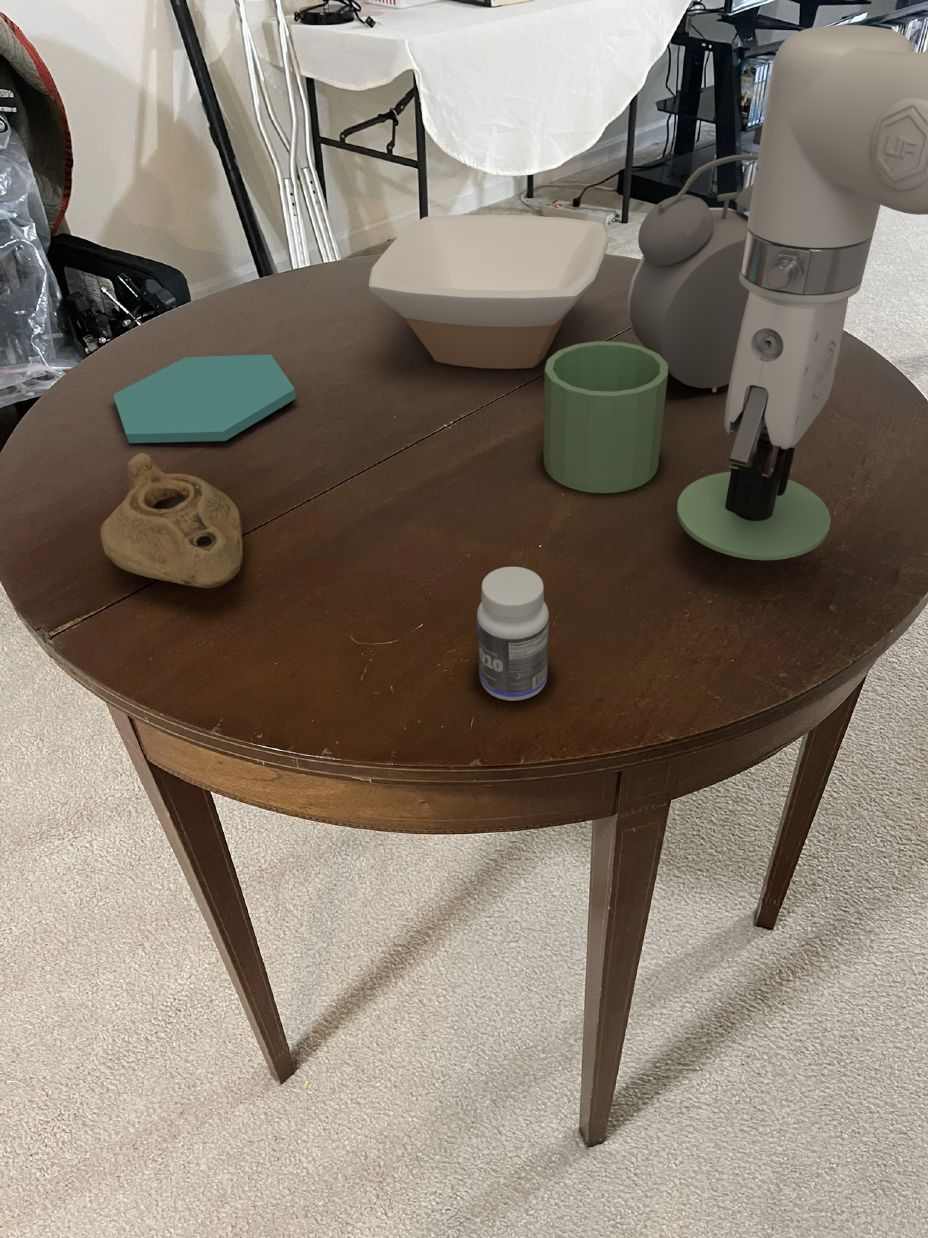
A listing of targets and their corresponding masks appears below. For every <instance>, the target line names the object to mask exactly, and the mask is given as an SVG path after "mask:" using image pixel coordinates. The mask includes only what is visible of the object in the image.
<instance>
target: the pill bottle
mask: <svg viewBox="0 0 928 1238" xmlns="http://www.w3.org/2000/svg"><path fill="white" fill-rule="evenodd" d="M544 590H545V588H544V582H543V580H542V578H541V576H539V575H538V574H537V573H536V572H534V571H533V570H531V569H528V568H525V567H522V566H521V567H520V566H504V567H500V568H497V569H494V570H492V571H490V572H489V573H488V574H486V576H485V577H484V578H483V580H482V583H481V592H480V593H481V594H480V600H481V602H480V603H479V605H478V606H477V607H478V608H477V612H476V628H477V629H476V630H477V647H478V649H477V651H478V674H479V681H480V683H481V686H482V687H483V689H484V690H485V691H486V692H487V693H488V694H489V695H491V696H492V697H495V698H497V699H499V700H502V701H510V702H511V701H512V702H514V701H515V702H516V701H523V700H527V699H530V698H532V697H534V696H536V695H537V694H539V693H540V692H541V691H542V690H543V689H544V687H545V685H546V684H547V680H548V663H549V662H548V661H549V659H548V657H549V625H550V612H549V609H548V605H547V604H546V602H545V600H544V599H545V591H544Z"/></svg>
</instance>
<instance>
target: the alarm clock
mask: <svg viewBox="0 0 928 1238" xmlns="http://www.w3.org/2000/svg"><path fill="white" fill-rule="evenodd" d="M757 159H758V154H757V155H756V154H734V155H729V156H725V157H721V158H718V159H715V160H712V161H709V162H708V163H706V164H704V165H701V166H700V167H698V168H697V169H696V170H695V171H694V172H693V173H692V174H691V175H690V176H689V178H688V179H687V180H686V182H685V184H684V185H683V187H682V188H681V190H680V191H679V192H678V193H677V194H676V195H673V196H671V197H668V198H666V199H665V198H664V199H663V200H662V201H660V202H659V203H657V204H655V206H654V207H653V208H652V209H651V210H649V212H648V213H647V214H646V215H645V216H644V218H643V221H642V222H641V223H640V226H639V230H638V238H637V243H638V248H639V250H640V252H641V254H642V256H641V259H639V262H638V264H637V267H636V269H635V271H634V272H633V275H632V277H631V280H630V285H629V288H628V289H629V291H628V294H627V317H628V322H629V324H630V327H631V330H632V333H633V334H634V335H635V337H636V338H637V340H638V341H639V342H640V344H641V346H643V347H645V348H647V349H649V350H651V351H653V352H655V353H658V354H660V356H661V357H662V358H663V359H664V360H665V361H666V362H667V364H668V374H669V375H671V376H672V377H673V378H675V380H677V381H679V382H680V383H682V384H683V385H685V386H688V387H689V386H690V387H694V388H698V389H711V392H712V393H716V392H717V390H718V388H720V387H723V386H728V385H729V383H730V377H731V372H732V367H733V362H734V357H735V352H736V347H737V343H738V338H739V334H740V329H741V322H742V320H743V316H744V312H745V308H746V304H747V300H748V296H749V292H750V291H749V290H748V289H746V288H745V287H744V286H743V285H742V284H741V283H740V281H739V274H740V268H741V262H742V255H743V249H744V243H745V236H746V230H747V223H748V216H749V215H747V214H746V213H744V212H741V211H739V210H735V209H734V208H733V209H732V208H729V204H730V201H732V200H734V202H735V203H737V204H738V205H740V206H741V207H742V208H744V209H745V210H747V211H748V212H749V210H750V203H751V197H752V191H753V184H754V183H752V184H750V185H748V186H746V187H745V188H744V189H742V191H740V192H737V191H734V192H733V191H732V192H727V193H722V194H718V195H717V197H716V200H717V202H723V207H709V206H708V203H706V202H705V201H704V200H703V199H702V198H700V197H697V196H695V195H692V194H686V193H687V192H688V190H689V188H690V187H691V185H692V184H693V182H694V181H696V179H697V178H698V177H699V176H700V175H701V173H703V172H706V171H707V170H709V169H711V168H714V167H717V166H721V165H724V164H727V163H731V162H739V161H752V162H753V161H754V162H757ZM738 193H739V194H738Z"/></svg>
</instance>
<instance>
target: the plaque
mask: <svg viewBox="0 0 928 1238" xmlns="http://www.w3.org/2000/svg"><path fill="white" fill-rule="evenodd" d="M112 396H113V399H114V402H115V405H116V408H117V411H118V414H119V417H120V420H121V423H122V424H121V425H122V427H123V430H124V433H125V436H126V439H127V441H128V443H129V444H146V443H147V444H150V443H155V444H156V443H187V442H188V443H189V442H190V443H192V442H227V441H228V440H229V439H231V438H233V437H234V436H237V435H238V434H240V433H241V432H243V431H245V430H246V429H248V428H249V427H251V426H253V425H255V424H256V423H258V422H259V421H261V420H263V419H264V418H266V417H268V416H269V415H271V414H273V413H274V412H276V411H277V410H279V409H283V407H284V406H286V405H288V404H289V403H291V402H292V401H294V400H296V399H297V397H298V396H297V392H296V388H295V387H294V385H293V384H292V382H291V380H290V379H289V378H288V376H287V375H286V373H284V371H283V370H282V368H281V367H280V366H279V364H278V363H277V361H276V359H275V357H273V355H272V354H270V353H267V354H266V353H265V354H241V355H239V354H238V355H237V354H236V355H213V356H186V357H183V358H181V359H179V360H177V361H175V362H174V363H172V364H169V365H168V366H166V367H164V368H162V369H160V370H158V371H155V372H154V373H152V374H150V375H148V376H146V377H144V378H142V379H140V380H139V381H136V382H134V383H133V384H131V385H129V386H127V387H124V388H123V389H120V390H119V391H117V392H114V393H113V394H112Z"/></svg>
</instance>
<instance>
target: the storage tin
mask: <svg viewBox="0 0 928 1238" xmlns="http://www.w3.org/2000/svg"><path fill="white" fill-rule="evenodd" d="M544 367H545V368H544V388H543V389H544V391H543V398H544V399H543V404H544V405H543V406H544V407H543V459H542V460H543V464H544V468H545V471H546V473H547V474H548V476H550V477H551V478H552V479H553V480H554V481H556V482H557V483H559V484H560V485H562V486H565V487H567V488H568V489H572V490H576V491H579V492H585V493H590V494H616V493H623V492H627V491H630V490H634V489H636V488H639V487H641V486H643V485H645V484H646V483H648V482H649V481H650V480H652V479H653V477H654V476H655V475H656V473H657V471H658V468H659V462H660V461H659V460H660V452H661V443H662V433H663V425H664V414H665V406H666V396H667V387H668V376H669V372H668V364H667V362H666V361H665V360H664V359H663V358H662V357H661V356H660V354H658V353H655V352H653V351H651V350H649V349H647V348H645V347H644V346H643V345H638V344H634V343H629V342H624V341H605V340H597V341H589V342H583V343H576V344H573V345H570V346H567V347H564V348H562V349H559V350H557V351H556V352H555V353H553V354H552V355H551V356H550V357H549V358H548V359H546V363H545V366H544Z"/></svg>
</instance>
